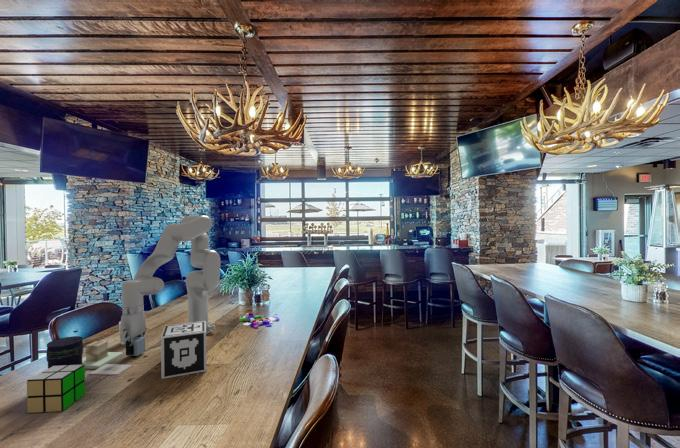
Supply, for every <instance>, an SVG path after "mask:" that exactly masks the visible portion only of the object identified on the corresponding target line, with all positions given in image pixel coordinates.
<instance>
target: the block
mask: <svg viewBox="0 0 680 448" xmlns="http://www.w3.org/2000/svg"><path fill="white" fill-rule="evenodd" d="M160 353H161V354H160V364H161V365H160V368H161V370H160V372H161V373H160V375H161V377H160V378H161V379H162V380H163V379H168V378H169V379H171V378H174V377H181V376H186V375H190V374H191V375H192V374H197V373H203V372H207V370H208V369H207V334H206V321H199V322H191V323H188V322H184V323H176V324H175V323H174V324H167V325H164V328H163V330H162V333H161V336H160Z"/></svg>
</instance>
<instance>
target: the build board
mask: <svg viewBox="0 0 680 448" xmlns="http://www.w3.org/2000/svg"><path fill="white" fill-rule="evenodd" d="M124 355H125V351H123V352H121V351H120V352H119V351H117V352H116V351H115V352H114V351H108V356H106V357H104V358H102V359H101V360H99V361H86V355H85V356H82V363H83V365H85V370H86V369H87V370H88V369H89V370H91V369H92V370H97V369H98V368H100V367H102V366H104V365H106V364H111V363H112V362H114V361H116V360H118V359H119V358H121V357H123V356H124Z"/></svg>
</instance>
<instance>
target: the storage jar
mask: <svg viewBox="0 0 680 448" xmlns="http://www.w3.org/2000/svg"><path fill="white" fill-rule="evenodd" d="M73 333H78V330H73ZM83 355H84V338H83V336H77V335H75V336H66V337H61V338H57V339H53V340H51V341H49V342H48V343H46V361H47V369H49V368H50V367H52V366H61V365H68V366H69V365H83V363H82V358H83Z"/></svg>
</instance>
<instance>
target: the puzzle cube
mask: <svg viewBox="0 0 680 448" xmlns="http://www.w3.org/2000/svg"><path fill="white" fill-rule="evenodd" d="M85 379H86V369H85V365H69V366H68V365H61V366H52V367H50V368H49V369H48V368H47V369H44V370H43V371H42V372H40V373H38V374H36V375H34V376H32V377H29V378H28V379H27V380H26V396H27V397H26V404H27V405H26V407H27V408H26V412H27V413H26V414H36V413H37V414H38V413H41V414H42V413H58V412H64V411H65V410H66V409H68V408H69V407H71V406H72V405H73V404H74V403H75V402H77V401H78V400H80V399H81V398H82V397H83V396H85V395H86V380H85Z"/></svg>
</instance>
